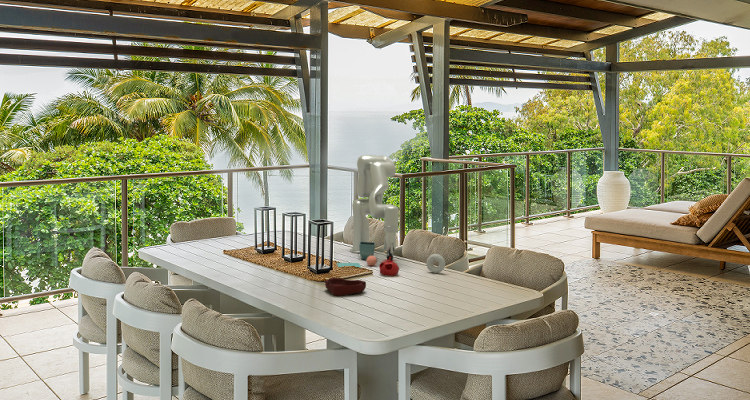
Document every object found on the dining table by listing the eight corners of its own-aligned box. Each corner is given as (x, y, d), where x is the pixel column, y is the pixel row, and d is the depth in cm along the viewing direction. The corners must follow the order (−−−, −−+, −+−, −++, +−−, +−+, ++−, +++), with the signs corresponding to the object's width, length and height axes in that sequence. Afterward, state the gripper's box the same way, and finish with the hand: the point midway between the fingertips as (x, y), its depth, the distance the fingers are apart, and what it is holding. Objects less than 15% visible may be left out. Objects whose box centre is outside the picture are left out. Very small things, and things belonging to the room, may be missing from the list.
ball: (368, 253, 357) (377, 257, 357) (364, 262, 357) (373, 267, 357) (369, 254, 351) (378, 258, 352) (365, 263, 351) (374, 267, 352)
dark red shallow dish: (316, 294, 288) (316, 283, 287) (332, 287, 303) (332, 276, 302) (354, 299, 281) (354, 288, 281) (368, 291, 297) (368, 280, 296)
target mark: (336, 263, 358) (336, 262, 358) (358, 263, 360) (358, 262, 360) (338, 267, 346) (338, 267, 346) (361, 267, 348) (361, 267, 348)
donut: (445, 273, 341) (446, 254, 340) (443, 274, 338) (444, 255, 337) (426, 271, 345) (427, 252, 344) (425, 272, 342) (425, 253, 341)
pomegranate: (388, 272, 340) (389, 254, 339) (402, 275, 333) (403, 257, 332) (374, 274, 333) (375, 256, 332) (388, 277, 326) (389, 258, 325)
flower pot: (374, 260, 369) (375, 244, 368) (358, 260, 369) (359, 244, 368) (374, 257, 378) (375, 242, 377) (359, 257, 378) (359, 241, 377)
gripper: (381, 227, 361) (380, 260, 363) (386, 231, 346) (384, 265, 348) (395, 227, 362) (394, 260, 364) (400, 231, 347) (398, 265, 349)
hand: (389, 263), depth 356 cm, fingers closed
